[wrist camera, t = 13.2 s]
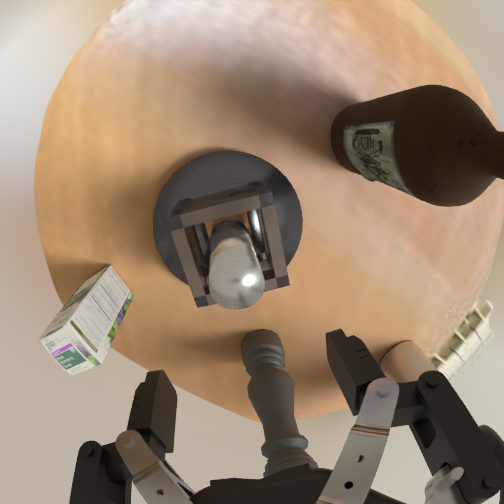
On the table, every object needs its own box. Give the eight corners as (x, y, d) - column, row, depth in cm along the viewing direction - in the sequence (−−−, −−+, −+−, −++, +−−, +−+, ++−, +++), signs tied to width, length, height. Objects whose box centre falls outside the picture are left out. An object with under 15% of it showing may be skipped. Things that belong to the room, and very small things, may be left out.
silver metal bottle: (251, 216, 33) (274, 266, 20) (241, 249, 34) (256, 315, 21) (216, 206, 32) (215, 251, 19) (206, 240, 33) (200, 304, 20)
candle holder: (234, 352, 42) (253, 503, 19) (253, 323, 40) (288, 484, 17) (267, 362, 44) (302, 502, 21) (287, 336, 42) (339, 481, 19)
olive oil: (374, 89, 30) (538, 68, 6) (404, 158, 34) (560, 201, 10) (310, 119, 31) (478, 98, 8) (347, 192, 35) (504, 276, 12)
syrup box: (107, 310, 37) (73, 379, 23) (83, 279, 35) (36, 341, 21) (135, 295, 36) (104, 367, 23) (110, 261, 34) (64, 323, 21)
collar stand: (284, 137, 31) (309, 135, 22) (308, 271, 38) (332, 308, 29) (137, 174, 31) (109, 186, 22) (181, 302, 38) (173, 346, 29)
